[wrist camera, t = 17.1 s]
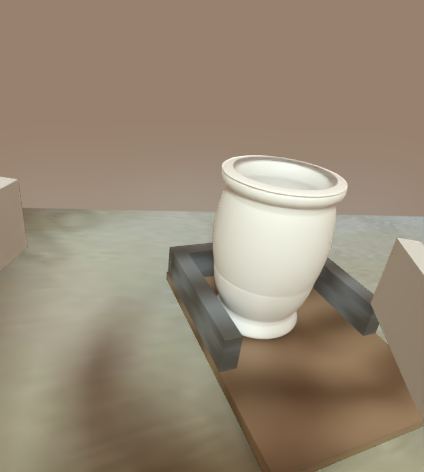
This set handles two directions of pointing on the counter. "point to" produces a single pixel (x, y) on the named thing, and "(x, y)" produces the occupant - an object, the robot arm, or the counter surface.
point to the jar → (272, 239)
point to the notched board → (300, 369)
